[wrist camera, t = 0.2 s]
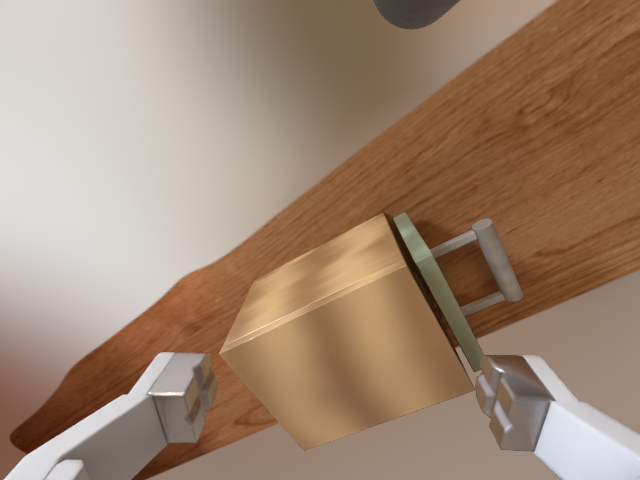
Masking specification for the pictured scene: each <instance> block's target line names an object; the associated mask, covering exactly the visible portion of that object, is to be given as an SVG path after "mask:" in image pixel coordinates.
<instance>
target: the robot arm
mask: <svg viewBox="0 0 640 480" xmlns="http://www.w3.org/2000/svg"><path fill="white" fill-rule="evenodd" d="M212 365H213V360H212V357H211V355H210V354H208V353H184V352H177V353H173V352H161V353H160V354H158V355H157V356H156V357H155V358H154V360H153V361H152V363H151V364H150V365H149V367H148V368H147V369H146V371H145V372H144V373H143V375H142V376H141V378H140V379H139V380H138V382H137V383H136V384H135V386H134V387H133V388H132V390H131V391H130V392H129V394H128V395H122V396H120V397H118V398H117V399H115V400H114V401H112V402H110V403H109V404H107V405H106V406H104V407H103V408H101V409H99V410H98V411H96V412H95V413H93V414H91V415H90V416H88V417H87V418H85V419H83V420H82V421H80V422H79V423H77V424H76V425H74V426H72V427H71V428H69V429H68V430H66V431H64V432H63V433H61V434H60V435H58V436H56V437H55V438H53V439H52V440H50V441H49V442H47V443H45V444H44V445H42V446H41V447H39V448H37V449H36V450H34V451H33V452H31V453H29V454H28V455H26V456H25V457H24V458H23V459H22V460H21V461H20V462H19V463H18V465H17V466H16V467H15V468H14V469H13V470H12V471H11V472H10V473H9V475H8V476H7V477H6V478H5V479H4V480H131V479H132V478H133V477H134V476H135V475H136V474H137V473H138V472H139V471H141V470H142V469H143V468H144V467H145V466H146V465H147V464H148V463H149V462H150V461H151V460H152V459H153V458H154V457H155V456H156V455H157V454H158V453H159V452H160V451H161V450H162V449H163V448H164V447H165V446H166V445H167V443H184V442H197V440H198V438H199V436H200V433H201V431H202V429H203V426H204V424H205V421H206V420H205V415H204V413H205V412H206V411H208V410H209V409H210V408H211V407H212V405H213V402H214V400H215V395H216V390H217V379H216V374H215V373H213V372H212V371H211V370H210V369H211V367H212ZM479 366H480V368H481V370H482V373H481V374H480V375H479V376H478V377H477V380H476V396H477V399H478V403H479V406H480V408H481V410H482V412H483V413H485V414H486V415H487V416H488V417H489V418H491V422H490V429H491V431H492V433H493V435H494V437H495V439H496V441H497V443H498V445H499V447H500V449H501V450H514V451H534V454H535V455H537V456H538V457H539V458H540V459H541V460H542V461H543V462H544V463H545V464H546V465H547V466H548V467H549V468H551V469H552V470H553V471H554V472H555V473H556V474H557V475H558V476H559V477H560V478H561V479H563V480H640V434H638V433H637V432H635V431H633V430H632V429H630V428H628V427H626V426H625V425H623V424H621V423H620V422H618V421H616V420H614V419H613V418H611V417H610V416H608V415H606V414H604V413H603V412H601V411H599V410H598V409H596V408H594V407H593V406H591V405H589V404H588V403H586V402H579V401H578V400H577V399H576V398H575V397H574V396H573V394H572V393H571V392H570V391H569V389H568V388H567V387H566V386H565V385H564V383H563V382H562V381H561V380H560V379H559V377H558V376H557V375H556V374H555V373H554V372H553V370H552V369H551V368H550V367H549V365H548V364H547V363H546V362H545V361H544V359H543V358H542V357H540V356H539V355H483V356H482V358H481V360H480V364H479Z"/></svg>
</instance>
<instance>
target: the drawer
mask: <svg viewBox="0 0 640 480" xmlns="http://www.w3.org/2000/svg"><path fill="white" fill-rule="evenodd" d="M393 220H394V222H395V224H396V226H397V228H398V230H399V232H400V234H401V236H402V238H403V240H404V242H405V244H406V246H407V248H408V250H409V252H410V254H411V256H412V258H413V260H414V262H415V264H416V265H417V267H418V269H419V271H420V273H421V275H422V277H423V278H424V280H425V282H426V284H427V286H428V288H429V290H430V291H431V293H432V295H433V297H434V299H435V301H436V303H437V304H438V306H439V308H440V310H441V312H442V314H443V316H444V317H445V319H446V321H447V323H448V325H449V327H450V329H451V330H452V332H453V334H454V336H455V338H456V340H457V342H458V343H459V345H460V347H461V349H462V351H463V353H464V354H465V356H466V358H467V360H468V362H469V364H470V366H471V368H472V369H473V371H474V372H476V371H479V370H481V368H480V366H479V364H480V360H481V358H482V356H483V355H484V354H483V352H482V350H481V348H480V346H479V344H478V342H477V340H476V338H475V336H474V334H473V332H472V330H471V328H470V326H469V324H468V322H467V320H466V318H465V316H468V315H470V314H472V313H475V312H477V311H480V310H482V309H484V308H487V307H489V306H492V305H494V304H496V303H499V302H501V301H504V300H506V301H508V302H516V301H519V300H520V299H521V298H522V297H523V292H522V290H521V288H520V285H519V283H518V281H517V278H516V276H515V273H514V271H513V269H512V266H511V264H510V262H509V259H508V257H507V254H506V252H505V250H504V247H503V245H502V243H501V240H500V238H499V236H498V233H497V231H496V228H495V226H494V224H493V221H492V220H491V219H482V220H479V221H477V222H475V223H474V224H473V225H472V229H473V230H470V231H468V232H466V233H464V234H462V235H459V236H457V237H455V238H453V239H451V240H449V241H447V242H445V243H443V244H441V245H439V246H436V247H434V248H432V249H429V248H428V246H427V245H426V243H425V242H424V240H423V239H422V237H421V236H420V234H419V233H418V231H417V229H416V228H415V226H414V225H413V223H412V222H411V220H410V219H409V217H408V216H407V214H406V213H405V212H404V213H402V214H400V215H398V216H396V217H394V218H393ZM476 239H477V240H478V242H479V245H480V247H481V249H482V251H483V254H484V256H485V258H486V260H487V262H488V265H489V267H490V269H491V271H492V274H493V276H494V278H495V280H496V282H497V285H498V287H499V289H500V291H501V292H500V291H497V292H495V293H493V294H490V295H488V296H486V297H483V298H481V299H479V300H476V301H474V302H471V303H469V304H467V305H464V306H462V307H459V305H458V303H457V301H456V299H455V297H454V295H453V293H452V291H451V289H450V287H449V285H448V283H447V281H446V279H445V277H444V275H443V273H442V272H441V270H440V268H439V266H438V264H437V262H436V260H435V258H437V257H440V256H442V255H444V254H446V253H448V252H450V251H452V250H454V249H457V248H459V247H461V246H463V245H465V244H467V243H469V242H471V241H474V240H476Z"/></svg>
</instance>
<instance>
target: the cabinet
mask: <svg viewBox="0 0 640 480" xmlns="http://www.w3.org/2000/svg"><path fill="white" fill-rule="evenodd" d="M219 355H220V356H221V357H222V358H223V359H224V361H225V362H226V363H227V364H228V365H229V366H230V367H231V369H232V370H233V371H234V372H235V373H236V374H237V375H238V377H239V378H240V379H241V380H242V381H243V382H244V383H245V385H246V386H247V387H248V388H249V389H250V390H251V391H252V392H253V394H254V395H255V396H256V397H257V398H258V399H259V400H260V402H261V403H262V404H263V405H264V406H265V407H266V408H267V410H268V411H269V412H270V413H271V414H272V415H273V416H274V418H275V419H276V420H277V421H278V422H279V423H280V424H281V426H283V428H284V429H285V430H286V431H287V432H288V433H289V435H290V436H291V437H292V438H293V439H294V440H295V441H296V443H297V444H298V445H299V446H300V447H301V448H302V449H303V450H304V451H306V450H308V449H311V448H314V447H317V446H320V445H322V444H325V443H328V442H331V441H334V440H336V439H339V438H342V437H345V436H348V435H351V434H353V433H356V432H359V431H362V430H364V429H367V428H370V427H373V426H376V425H378V424H381V423H384V422H387V421H390V420H393V419H395V418H398V417H401V416H404V415H407V414H410V413H412V412H415V411H418V410H420V409H424V408H426V407H429V406H432V405H435V404H438V403H440V402H443V401H446V400H449V399H452V398H454V397H457V396H460V395H463V394H466V393H468V392H471V391H474V390H475V389H474V386H473V384H472V382H471V380H470V378H469V376H468V374H467V372H466V370H465V368H464V366H463V364H462V362H461V360H460V358H459V356H458V354H457V352H456V350H455V348H454V346H453V344H452V342H451V339H450V337H449V335H448V333H447V331H446V329H445V327H444V325H443V323H442V321H441V319H440V317H439V315H438V313H437V311H436V309H435V307H434V305H433V303H432V301H431V299H430V297H429V296H428V294H427V292H426V290H425V288H424V286H423V285H422V283H421V281H420V279H419V277H418V275H417V274H416V272H415V270H414V268H413V266H412V264H411V263H410V261H409V259H408V257H407V255H406V253H405V251H404V250H403V248H402V246H401V244H400V242H399V240H398V239H397V237H396V235H395V233H394V231H393V229H392V228H391V226H390V224H389V222H388V220H387V218H386V217H385V215H384V213H381V214H379V215H377V216H375V217H373V218H372V219H370V220H368V221H366V222H364V223H362V224H360V225H358V226H356V227H354V228H353V229H351V230H349V231H347V232H345V233H343V234H341V235H339V236H337V237H336V238H334V239H332V240H330V241H328V242H326V243H324V244H322V245H320V246H318V247H317V248H315V249H313V250H311V251H309V252H307V253H305V254H303V255H301V256H300V257H298V258H296V259H294V260H292V261H290V262H288V263H286V264H284V265H282V266H281V267H279V268H277V269H275V270H273V271H271V272H269V273H267V274H265V275H264V276H262V277H260V278H258V279H256V280H254V282H253V284H252V286H251V288H250V290H249V292H248V295H247V297H246V299H245V301H244V303H243V305H242V307H241V309H240V311H239V313H238V315H237V317H236V320H235V322H234V324H233V326H232V328H231V330H230V332H229V334H228V336H227V338H226V340H225V343H224V345H223V347H222V349H221V351H220V353H219Z"/></svg>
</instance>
